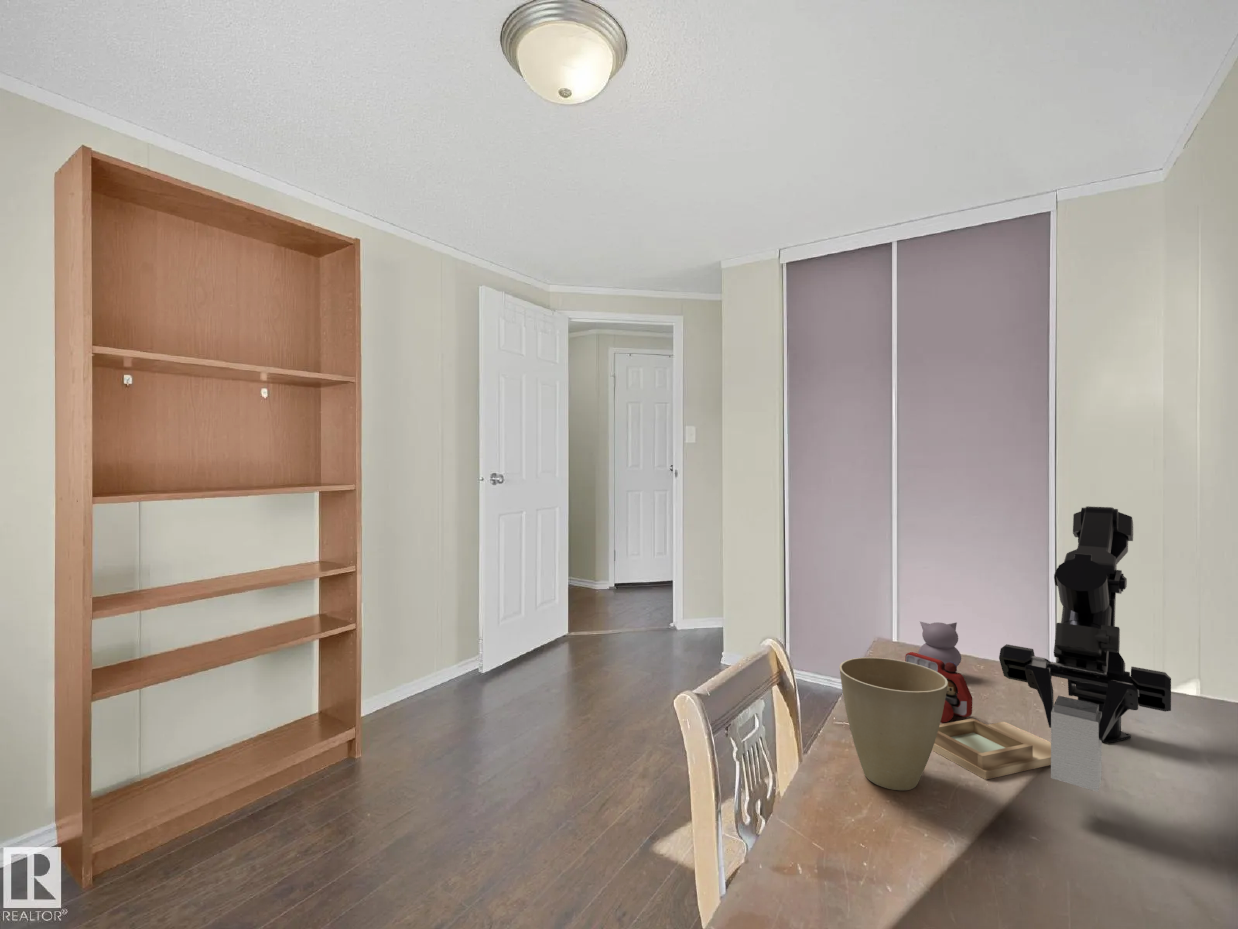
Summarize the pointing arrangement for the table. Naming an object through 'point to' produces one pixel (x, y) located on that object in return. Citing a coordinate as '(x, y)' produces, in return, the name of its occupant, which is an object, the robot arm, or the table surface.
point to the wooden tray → (991, 748)
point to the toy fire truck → (957, 688)
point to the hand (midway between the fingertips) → (1075, 732)
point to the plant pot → (892, 717)
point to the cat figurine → (940, 642)
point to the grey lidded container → (1076, 743)
